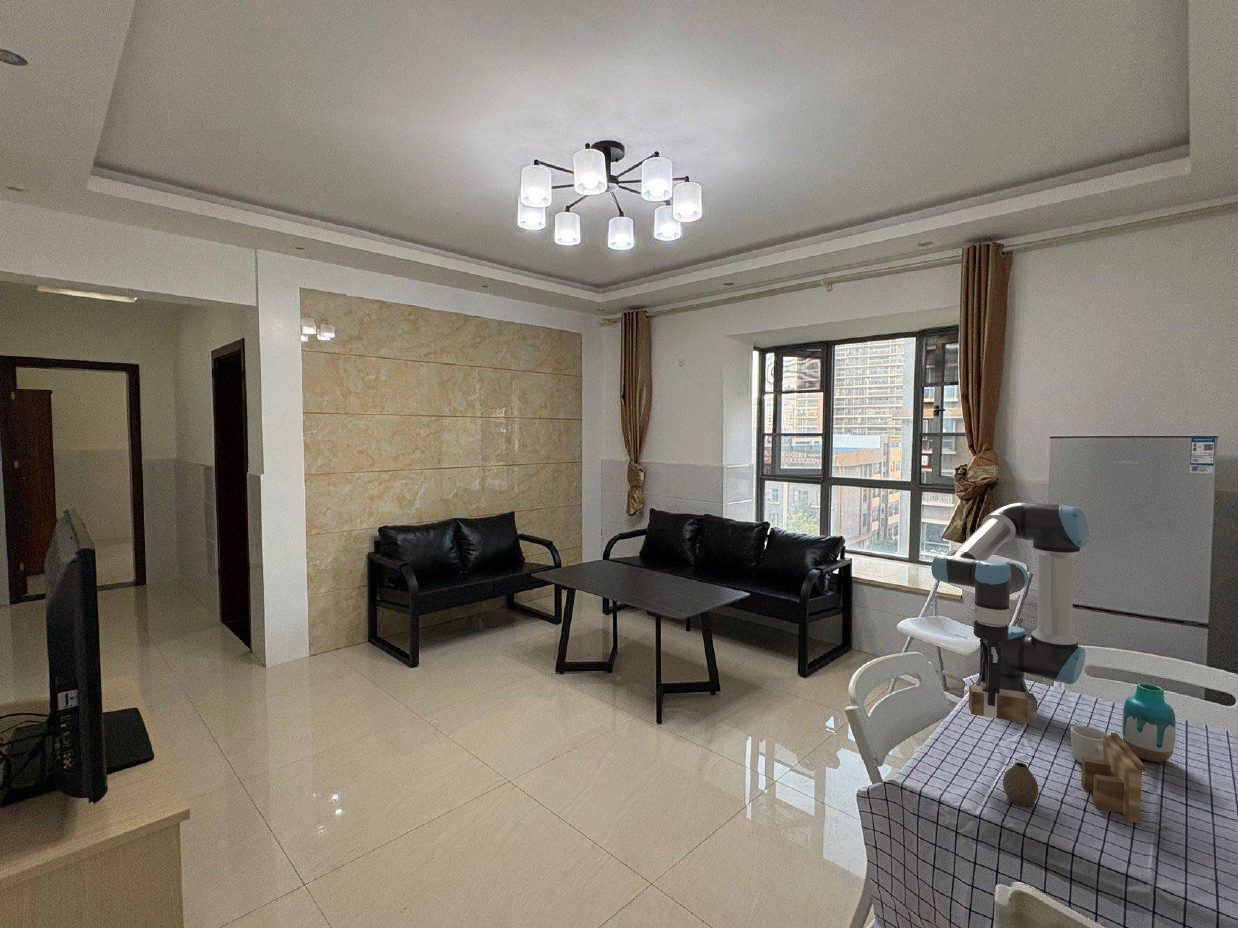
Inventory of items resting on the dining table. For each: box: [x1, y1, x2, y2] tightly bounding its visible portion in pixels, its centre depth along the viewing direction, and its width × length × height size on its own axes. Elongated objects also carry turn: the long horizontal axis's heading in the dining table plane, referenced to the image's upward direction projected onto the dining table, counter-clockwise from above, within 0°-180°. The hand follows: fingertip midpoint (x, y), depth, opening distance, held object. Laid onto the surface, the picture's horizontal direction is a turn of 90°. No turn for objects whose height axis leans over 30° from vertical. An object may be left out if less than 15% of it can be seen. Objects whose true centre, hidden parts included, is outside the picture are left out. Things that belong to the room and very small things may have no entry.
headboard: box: [1080, 731, 1147, 824], centre depth 141 cm, size 16×8×13 cm, turn 158°
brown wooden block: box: [968, 684, 1039, 725], centre depth 153 cm, size 14×5×6 cm, turn 68°
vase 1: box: [1002, 761, 1040, 807], centre depth 140 cm, size 7×7×9 cm
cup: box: [1070, 725, 1109, 764], centre depth 156 cm, size 11×8×8 cm
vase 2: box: [1121, 682, 1177, 763], centre depth 160 cm, size 11×11×19 cm
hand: (988, 711), depth 154 cm, fingers closed on brown wooden block, 4 cm apart
